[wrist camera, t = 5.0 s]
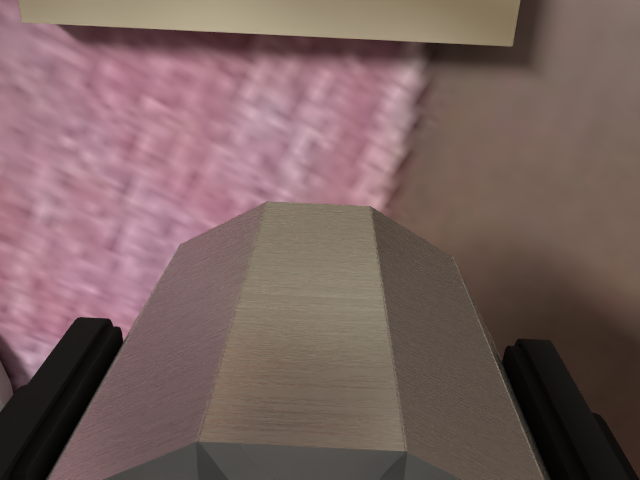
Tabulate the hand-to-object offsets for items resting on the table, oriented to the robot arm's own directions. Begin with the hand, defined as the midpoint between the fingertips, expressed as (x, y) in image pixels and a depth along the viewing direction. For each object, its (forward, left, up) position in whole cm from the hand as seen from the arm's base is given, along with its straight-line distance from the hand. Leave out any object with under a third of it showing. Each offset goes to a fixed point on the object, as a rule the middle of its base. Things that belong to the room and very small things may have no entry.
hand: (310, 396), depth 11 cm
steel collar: (0, 0, -1) cm, 1 cm away
